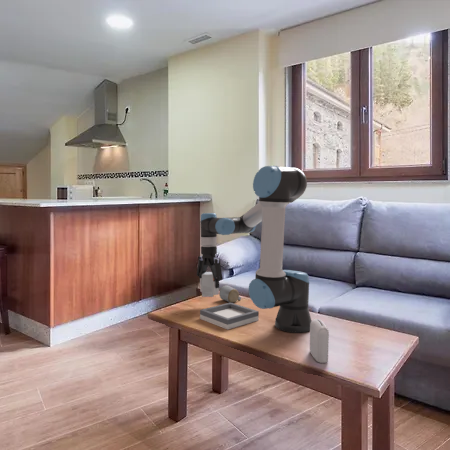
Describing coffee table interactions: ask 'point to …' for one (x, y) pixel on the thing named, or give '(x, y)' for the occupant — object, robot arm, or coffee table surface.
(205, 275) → the small box
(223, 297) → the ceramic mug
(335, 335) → the coffee table surface
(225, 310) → the square gray-rimmed holder
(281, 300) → the robot arm
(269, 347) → the coffee table surface
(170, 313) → the coffee table surface
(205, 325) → the coffee table surface
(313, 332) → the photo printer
